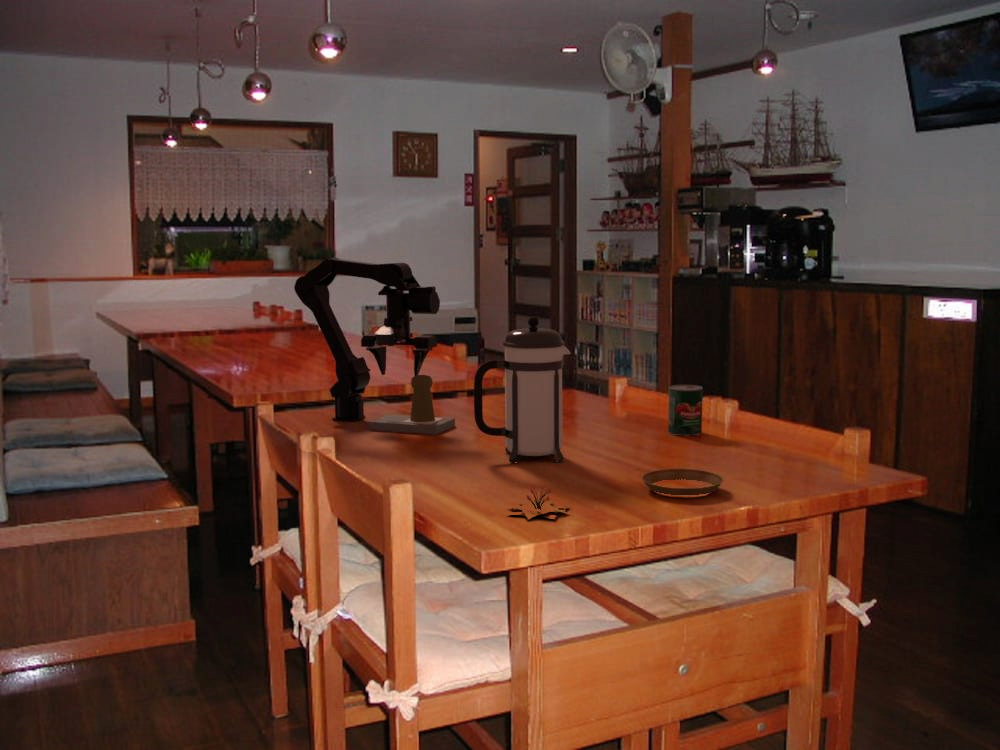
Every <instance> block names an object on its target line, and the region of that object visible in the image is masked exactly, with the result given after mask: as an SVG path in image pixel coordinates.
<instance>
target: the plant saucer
mask: <svg viewBox="0 0 1000 750" xmlns="http://www.w3.org/2000/svg"><path fill="white" fill-rule="evenodd" d="M676 479H677V480H679V479H680V480H681V479H683V480H684V479H686V480H697V481H703V482H707V483H710V484H712V485H714V486H709V487H703V488H669V487H662V486H657V485H653V484H652V483H655V482H658V481H662V480H676ZM641 480H642V481H643V483H644V484H645V485H646V487H647V488H649V490H651V491H652V490H653V491H656V492H659V493H664V494H671V495H699V494H706V493H710V492H713V491H714V492H715V491H716V490H717V489H718V488H719V487H720V486H721V484H722V483H723V482H724V477H722V476H721V475H719V474H717V473H713V472H711V471H707V470H702V469H701V470H700V469H691V468H663V469H657V470H653V471H649V472H646V473H644V474H643V475H642V476H641ZM653 491H652V492H653ZM714 492H713V493H714Z"/></svg>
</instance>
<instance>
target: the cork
mask: <svg viewBox="0 0 1000 750" xmlns="http://www.w3.org/2000/svg"><path fill="white" fill-rule="evenodd" d="M410 384H411V388H412V389H413V391H412V400H411V409H410V415H411V417H410V421H413V422H430V421H434V420H435V417H436V416H435V412H434V411H435V410H434V403H433V398H432V391H431V388H432V386H433V379H432V377H431V376H430V375H428V374H418V375H417V376H415V375H413V376H412V378H411V380H410Z"/></svg>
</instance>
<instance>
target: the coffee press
mask: <svg viewBox="0 0 1000 750" xmlns="http://www.w3.org/2000/svg"><path fill="white" fill-rule="evenodd" d="M539 322H540V320H539V319H538V318H537V317H536V316H530V317H529V318H528V320H527V324H528V326H529V327H527V328H524V327H523V328H517V329H513V330H512V331H509V332H508V333H507V334H506V335H505V339H504V340H503V341H502V346H503V349H504V358H503V360H499V359H498V360H496V359H491V360H488V361H484V362H483V363H482V364H481V365H480V366H478V368H477V370H476V372H475V375H474V379H473V411H474V415H473V416H474V421H475V424H476V426H477V428H478V429H479V431H481V432H482V433H483V434H485V435H488V436H494V437H505V453H506V454H508V453H509V457H508V462H509V463H511V462H512V463H511V464H516V463H515V462H517V463H519V461H520V459H521V458H522V457H525V456H527V457H540V456H541V457H542V456H550V457H551V458H552V459H553V460H554V462H555V461H558V462H557V463H560V461H561V462H563V461H564V459H565V458H564V455H563V453H562V451H561V448H562V447H563V368H564V358H563V356H564V355H571V351H570V350H569V349H568V347H566V345H565V340H562V336H561V334H560V333H559V332H557V331H556V330H555V329H551V328H543V327H537V326H538V325H539ZM499 368H500V369H501V368H504V399H505V400H504V403H505V407H504V410H505V411H504V412H505V413H504V414H505V418H504V419H505V426H503V427H502V426H501V427H492V426H490V425H487V424H486V423H485V421H484V418H483V417H484V415H483V414H484V413H483V379H484V377H485V375H486V373H488V371H490V370H493V369H499Z"/></svg>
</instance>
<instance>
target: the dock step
mask: <svg viewBox="0 0 1000 750" xmlns="http://www.w3.org/2000/svg"><path fill="white" fill-rule="evenodd" d="M410 417H411V414H408V415H407V414H396V413H389V414H387V415H384V416H382V417H379V418H375V419H373V420H371V421H368V430H369V431H379V432H393V433H405V434H406V433H407V434H420V435H421V434H422V435H423V434H424V435H435V436H436V435H439V434H440V433H443V432H445V431H448V430H449V429H452V428H454V427H456V418H454V417H439V416H435V420H434V421H430V422H413V421H410Z"/></svg>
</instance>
